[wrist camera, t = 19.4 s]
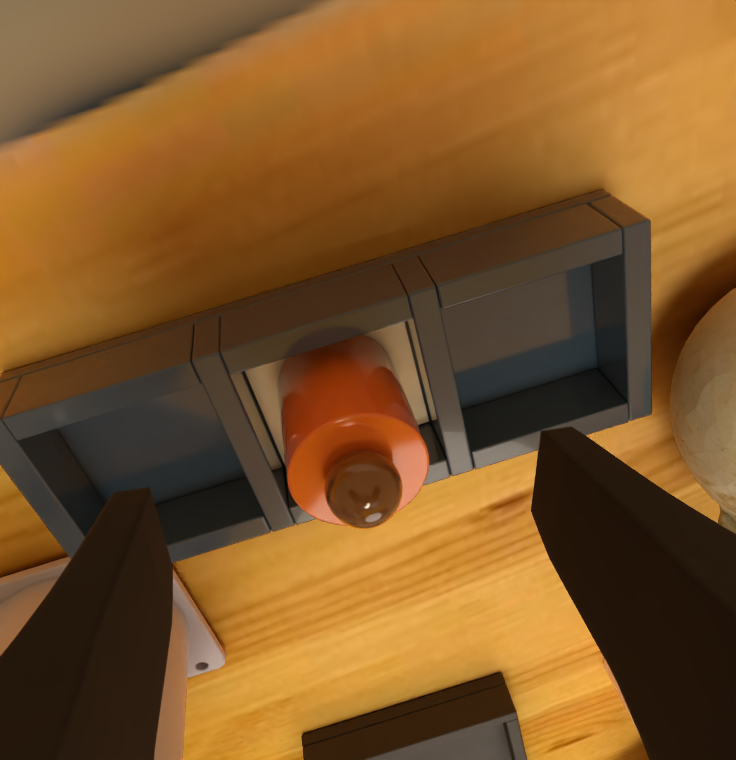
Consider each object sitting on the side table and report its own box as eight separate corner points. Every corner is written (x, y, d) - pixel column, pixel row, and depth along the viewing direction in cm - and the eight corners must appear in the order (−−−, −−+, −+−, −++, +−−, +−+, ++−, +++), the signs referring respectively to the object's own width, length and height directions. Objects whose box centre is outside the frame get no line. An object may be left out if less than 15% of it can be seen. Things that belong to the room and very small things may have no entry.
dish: (105, 526, 24) (92, 589, 22) (0, 372, 20) (-29, 428, 18) (611, 370, 24) (653, 415, 22) (603, 187, 20) (651, 219, 18)
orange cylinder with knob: (302, 447, 23) (323, 589, 18) (257, 357, 20) (267, 489, 15) (409, 408, 22) (461, 539, 17) (375, 313, 20) (424, 432, 15)
